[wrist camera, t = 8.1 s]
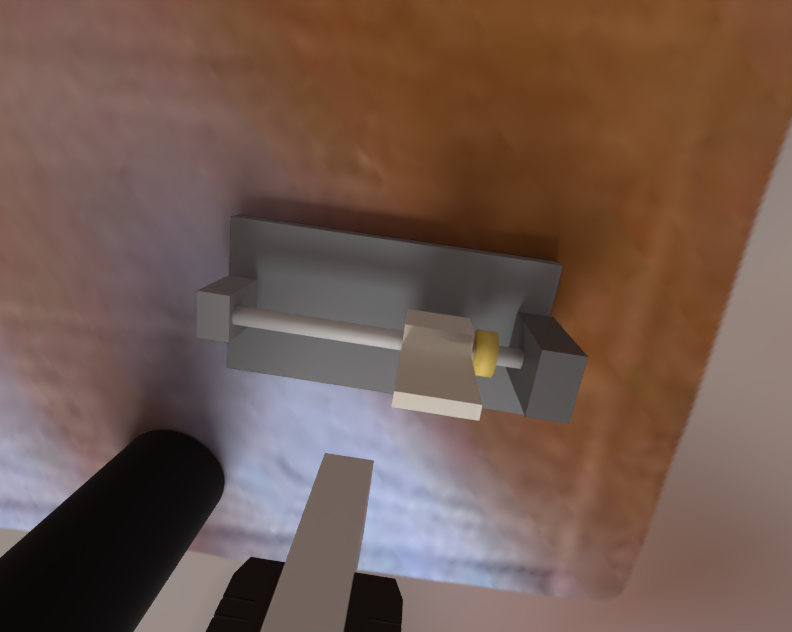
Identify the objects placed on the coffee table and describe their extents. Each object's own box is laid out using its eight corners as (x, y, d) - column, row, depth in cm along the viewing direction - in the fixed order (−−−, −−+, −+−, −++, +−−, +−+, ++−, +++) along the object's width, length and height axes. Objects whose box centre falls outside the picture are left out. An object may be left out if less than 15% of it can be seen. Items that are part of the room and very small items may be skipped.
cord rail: (235, 359, 34) (175, 415, 26) (240, 214, 31) (172, 227, 23) (523, 405, 34) (553, 477, 25) (559, 261, 30) (606, 292, 22)
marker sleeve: (400, 354, 29) (388, 429, 21) (407, 308, 28) (397, 366, 20) (461, 364, 29) (474, 443, 21) (469, 318, 28) (487, 381, 20)
